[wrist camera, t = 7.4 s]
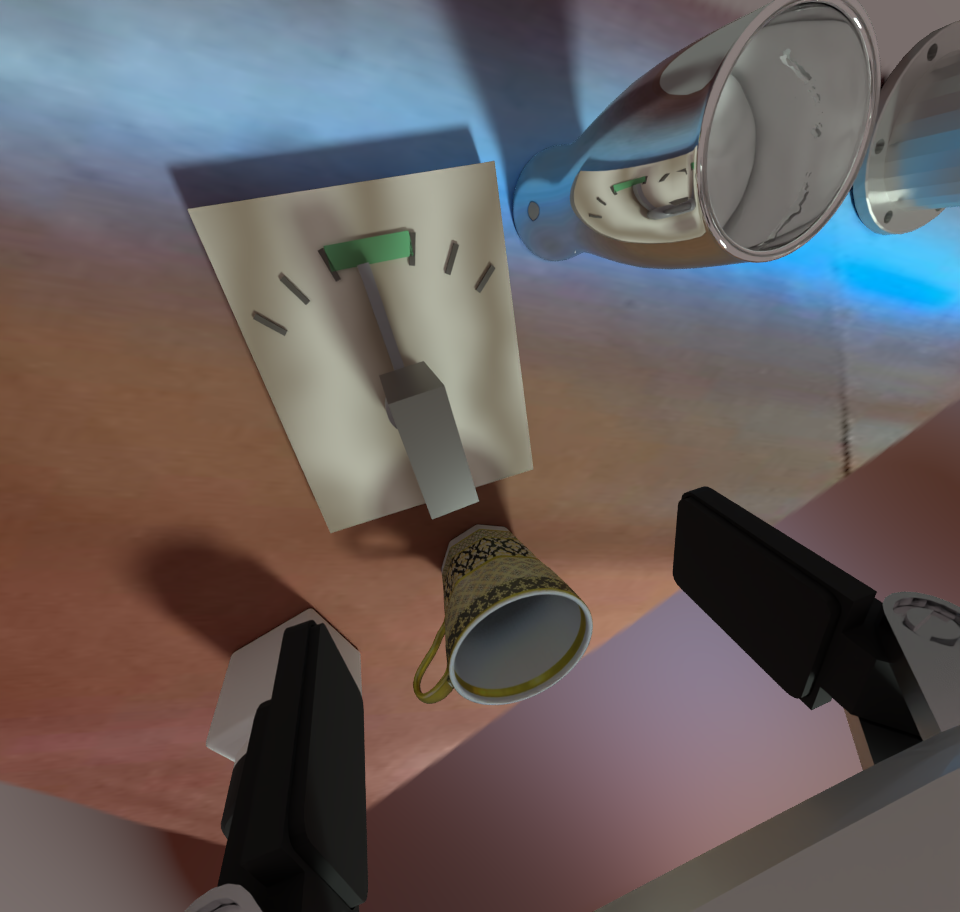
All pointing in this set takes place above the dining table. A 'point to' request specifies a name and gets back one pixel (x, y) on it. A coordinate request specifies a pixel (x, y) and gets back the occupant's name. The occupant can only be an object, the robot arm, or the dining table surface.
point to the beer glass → (716, 147)
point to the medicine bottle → (257, 696)
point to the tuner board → (376, 324)
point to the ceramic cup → (503, 622)
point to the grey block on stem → (423, 421)
